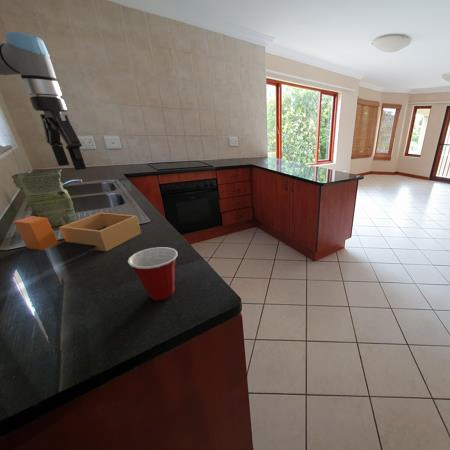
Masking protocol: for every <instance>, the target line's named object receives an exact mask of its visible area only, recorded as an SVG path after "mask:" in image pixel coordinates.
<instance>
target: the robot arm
mask: <svg viewBox="0 0 450 450" xmlns="http://www.w3.org/2000/svg"><path fill="white" fill-rule="evenodd" d="M4 35H5V39H6V40H5V41H6V42H5V43H4V42H3V43H1V42H0V76H1V75H2V76H10V75H11V76H13V75H20V78H21V81H22V83H23V85H24V88H25V91H26V93H27V95H29V96H30V97H29V100H30V103H31V105H32V108H33V110H35V111H38V112H43V113H40V115H39V117H40V118H41V121H42V125H43V126H42V127H43V130H44V135H45V139H46V143H47V144H49V146H50V147H51V149H52V153H53V155H54V157H55V160H56V163H57V165H58V167H63V166H70V162H69V159H68V156H67V154H66V151H65V149H66V150H67V151H68V154H69V157H70V159H71V163H72V165H73V167H74V168H73V169H74V170H75V171H80V170H87V166H86V164H85V161H84V158H83V155H82V152H81V149H80V148H81V147H83V145H82V143H81V141H80V139H79V137H78V135H77V133H76V131H75V130H74V128H73V126H72V124H71V122H70V119H69V116H68V114H65V112H67V111H68V108H67V105H66V101H65V99H63V98H62V97H63V94H62V91H61V90H62V89H63V87H62V86H60V85H59V82H58V78H57V76H56V72H55V70H54V66H53V63H52V61H51V57H50V53H49V52H48V49H47V46H46V44H45V42H44V41H43V39H42V38H40V37H39V36H36V35H33V34H30V33H27V32H20V31H13V30H11V31H6V32H5V34H4ZM62 112H63V113H62ZM61 138H62V140H63V141H64V143H65V144H66V145H65V149H64V143H63V142H62V141H61Z"/></svg>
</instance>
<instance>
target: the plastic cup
mask: <svg viewBox="0 0 450 450" xmlns="http://www.w3.org/2000/svg"><path fill="white" fill-rule="evenodd" d="M178 254H179V253H178V250H176V249H175V248H173V247H169V246H165V247H164V246H158V247H150V248H146V249H142V250H140V251H137V252H135V253H133V254H132V255H131V256H130V257H128V260H127V263H128V265H129V266H130V267H131V268H132V270H133V271H134V273H135V274H136V276H137V278H138V279H139V281H140V283H141V285H142V286H143V288H144V290H145V291H146V293H147V294H148V296H149V297H150V298H151V300H153V301H163V300H166V299H168V298H170V297H172V296H173V295H174V293H175V290H176V287H175V282H176V274H175V273H176V270H175V269H176V260H177V257H178V256H179V255H178Z"/></svg>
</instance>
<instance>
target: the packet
mask: <svg viewBox="0 0 450 450" xmlns="http://www.w3.org/2000/svg"><path fill="white" fill-rule="evenodd" d="M12 222H13V224H14V226H15V228H16V230H17V231H18V234H19V235H20V237H21V240H22V241H23V243H24V245H25V247H26V248H27V249H31V250H37V251H44V250H47V249H50V248H51V247H54V246H56V245H60V244H59V241H58V238H57V237H56V234H55V232H54V230H52V228H51V225H50V223H49V221H48V219H47V218H44V217H35V215H34V216H33V215H31V216H28V217H24V218H20V219H17V220H14V221H12Z"/></svg>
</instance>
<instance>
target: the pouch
mask: <svg viewBox="0 0 450 450" xmlns="http://www.w3.org/2000/svg"><path fill="white" fill-rule="evenodd" d="M62 171H63V170H62V169H60V168H55V169H53V170H46V171H43V172H41V171H40V170H38V169H37V170H36V171H35V172H21V173H16V174H13V175H11V178H12V180H13V184H15V186H16V188H17V189H19V190H20V191H21V192H22V194H23V195H24V196H25V198H26V199H27V203H28V205H29V207H30V209H31V211H32V213H33V214H34V216H35V217H44V218H47V219H48V221H49V223H50V225H51V228H52V230H53V231H56V230H60V228H59V227H61V226H64V225H67V224H69V223H72V222H75V221H77V216H76V211H75V208H74V203H73V202H74V201H73V199H72V198H71V196H70V194H69V191H68V190H67V189H65V188H64V186H63V182H61V178H62V174H61V172H62Z"/></svg>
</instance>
